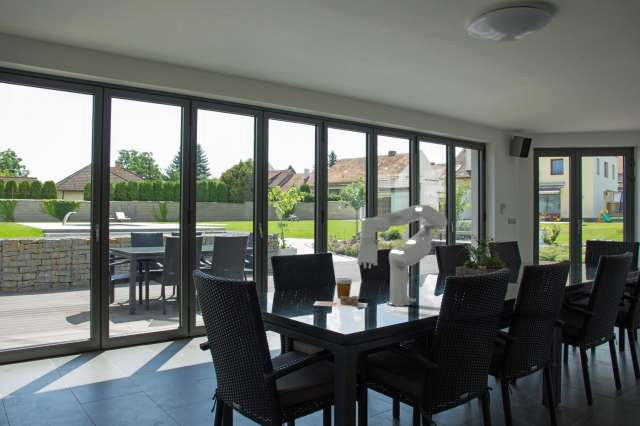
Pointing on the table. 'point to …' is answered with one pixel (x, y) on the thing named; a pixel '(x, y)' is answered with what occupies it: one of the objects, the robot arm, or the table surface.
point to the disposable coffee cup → (343, 287)
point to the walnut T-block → (349, 300)
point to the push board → (338, 304)
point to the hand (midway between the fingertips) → (367, 275)
